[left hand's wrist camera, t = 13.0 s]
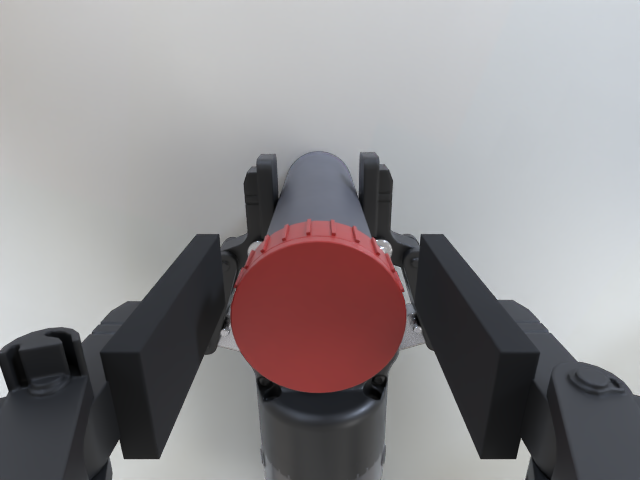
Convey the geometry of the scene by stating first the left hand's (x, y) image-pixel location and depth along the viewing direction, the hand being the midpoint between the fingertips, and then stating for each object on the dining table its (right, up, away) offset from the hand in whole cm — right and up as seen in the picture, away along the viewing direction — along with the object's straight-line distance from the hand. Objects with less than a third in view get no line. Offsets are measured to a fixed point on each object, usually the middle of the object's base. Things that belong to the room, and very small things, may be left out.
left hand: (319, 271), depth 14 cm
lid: (0, -1, -3) cm, 3 cm away
